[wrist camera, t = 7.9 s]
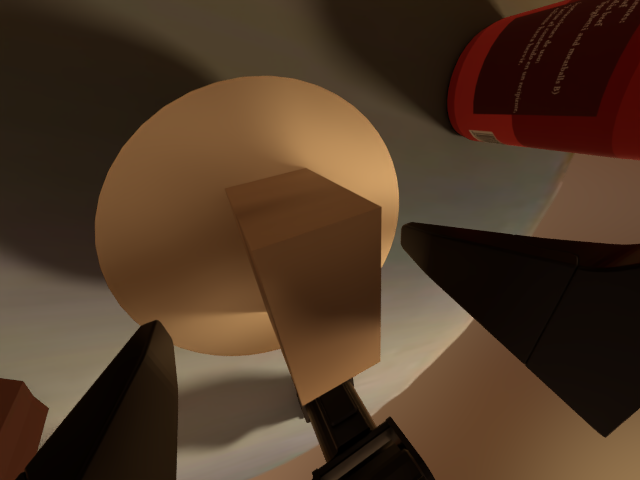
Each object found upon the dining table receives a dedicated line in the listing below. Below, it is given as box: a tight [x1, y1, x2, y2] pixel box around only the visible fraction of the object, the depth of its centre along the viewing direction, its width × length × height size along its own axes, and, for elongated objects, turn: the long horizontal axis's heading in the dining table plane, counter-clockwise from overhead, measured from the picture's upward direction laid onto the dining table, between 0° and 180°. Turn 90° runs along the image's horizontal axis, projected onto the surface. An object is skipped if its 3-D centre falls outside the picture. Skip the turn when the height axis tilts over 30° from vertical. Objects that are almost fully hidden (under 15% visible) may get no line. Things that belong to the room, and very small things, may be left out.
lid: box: [95, 76, 399, 406], centre depth 9 cm, size 12×12×6 cm
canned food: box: [447, 0, 640, 160], centre depth 14 cm, size 8×8×11 cm
